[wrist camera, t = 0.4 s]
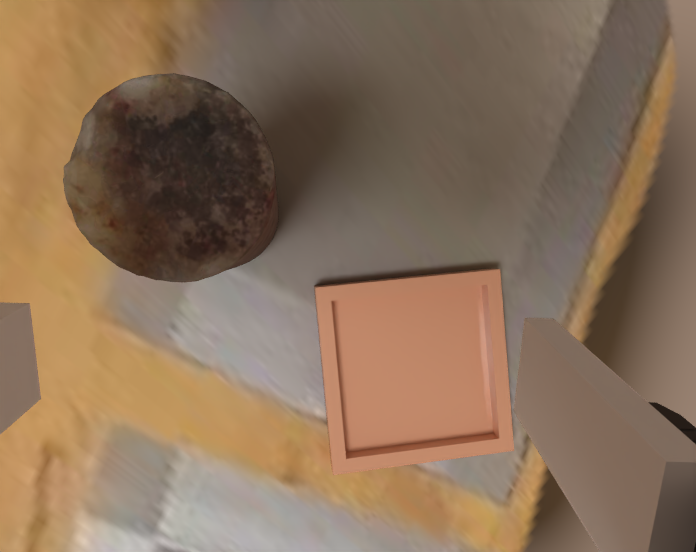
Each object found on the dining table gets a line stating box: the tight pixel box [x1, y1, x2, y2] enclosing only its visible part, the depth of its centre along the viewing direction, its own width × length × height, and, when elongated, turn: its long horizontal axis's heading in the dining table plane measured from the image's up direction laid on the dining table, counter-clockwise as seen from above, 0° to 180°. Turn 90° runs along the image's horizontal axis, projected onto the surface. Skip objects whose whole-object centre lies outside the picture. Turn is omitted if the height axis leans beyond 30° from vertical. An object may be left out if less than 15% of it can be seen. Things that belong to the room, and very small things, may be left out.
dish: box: [314, 268, 514, 475], centre depth 39 cm, size 13×13×2 cm
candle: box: [63, 73, 279, 282], centre depth 28 cm, size 8×7×20 cm
